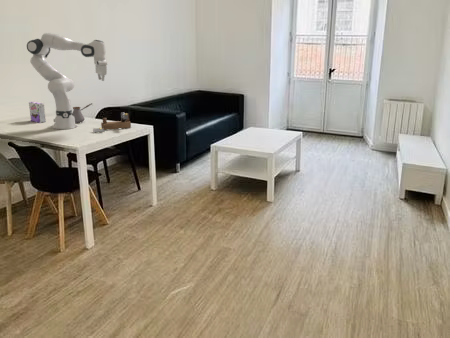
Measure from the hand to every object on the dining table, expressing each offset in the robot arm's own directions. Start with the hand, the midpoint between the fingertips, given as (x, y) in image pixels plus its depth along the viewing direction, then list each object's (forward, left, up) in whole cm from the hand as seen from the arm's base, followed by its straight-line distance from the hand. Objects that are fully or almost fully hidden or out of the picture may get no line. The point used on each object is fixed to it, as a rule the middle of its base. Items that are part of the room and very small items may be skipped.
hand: (101, 80), depth 319 cm
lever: (+9, +14, -33) cm, 37 cm away
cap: (+13, -8, -39) cm, 41 cm away
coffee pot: (-35, -10, -39) cm, 53 cm away
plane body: (+4, +8, -38) cm, 39 cm away
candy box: (-50, -44, -39) cm, 77 cm away
